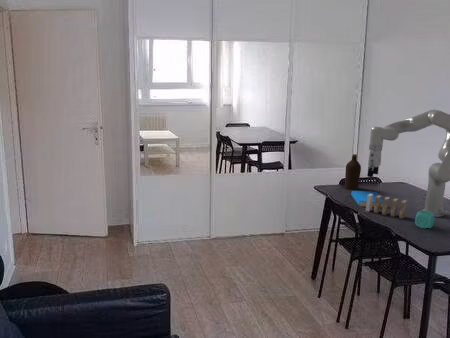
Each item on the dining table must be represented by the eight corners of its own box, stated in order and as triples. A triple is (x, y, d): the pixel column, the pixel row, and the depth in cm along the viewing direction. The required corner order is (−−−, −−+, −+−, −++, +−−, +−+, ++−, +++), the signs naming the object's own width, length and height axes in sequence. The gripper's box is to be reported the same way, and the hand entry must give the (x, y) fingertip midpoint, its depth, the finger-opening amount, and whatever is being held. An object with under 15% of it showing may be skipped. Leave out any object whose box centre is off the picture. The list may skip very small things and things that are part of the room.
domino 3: (396, 214, 281) (398, 198, 279) (393, 216, 277) (395, 200, 275) (392, 214, 282) (394, 198, 280) (390, 216, 278) (392, 200, 276)
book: (376, 191, 318) (386, 201, 294) (375, 197, 319) (386, 208, 294) (351, 190, 319) (359, 200, 294) (350, 196, 320) (358, 207, 295)
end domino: (371, 209, 289) (373, 194, 287) (368, 211, 285) (370, 195, 283) (368, 209, 290) (369, 193, 288) (365, 210, 286) (367, 195, 284)
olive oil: (358, 191, 331) (361, 156, 326) (342, 189, 335) (346, 155, 329) (359, 187, 341) (363, 154, 335) (344, 185, 345) (348, 152, 339)
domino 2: (387, 213, 284) (389, 197, 281) (385, 215, 280) (387, 199, 277) (384, 212, 285) (386, 196, 282) (382, 214, 281) (383, 198, 278)
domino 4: (404, 216, 278) (406, 200, 276) (402, 218, 274) (404, 202, 272) (401, 215, 279) (403, 199, 277) (399, 218, 275) (401, 201, 273)
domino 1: (379, 211, 286) (381, 195, 284) (377, 213, 282) (378, 197, 280) (376, 210, 287) (378, 195, 285) (373, 212, 283) (375, 196, 281)
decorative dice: (418, 222, 268) (420, 209, 266) (433, 226, 263) (435, 212, 261) (414, 226, 262) (416, 212, 260) (428, 229, 257) (430, 215, 255)
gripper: (377, 150, 270) (374, 179, 274) (386, 146, 284) (383, 174, 288) (364, 148, 274) (361, 176, 278) (374, 145, 288) (371, 172, 292)
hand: (372, 175), depth 283 cm, fingers open, 9 cm apart
